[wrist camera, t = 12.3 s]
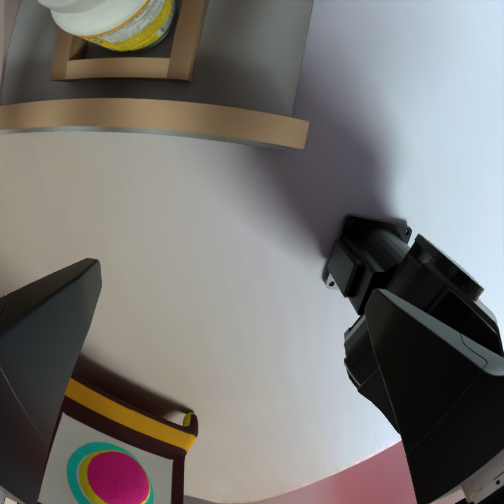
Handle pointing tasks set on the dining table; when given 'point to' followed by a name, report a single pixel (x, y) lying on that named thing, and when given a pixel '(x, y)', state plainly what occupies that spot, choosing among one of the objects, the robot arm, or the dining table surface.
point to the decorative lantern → (113, 452)
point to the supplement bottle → (116, 21)
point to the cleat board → (165, 76)
